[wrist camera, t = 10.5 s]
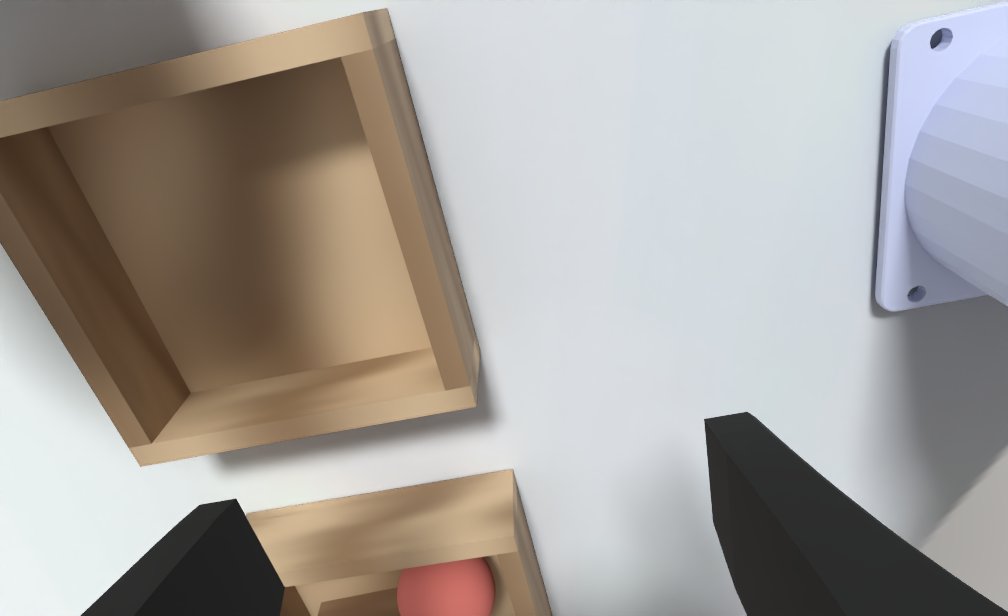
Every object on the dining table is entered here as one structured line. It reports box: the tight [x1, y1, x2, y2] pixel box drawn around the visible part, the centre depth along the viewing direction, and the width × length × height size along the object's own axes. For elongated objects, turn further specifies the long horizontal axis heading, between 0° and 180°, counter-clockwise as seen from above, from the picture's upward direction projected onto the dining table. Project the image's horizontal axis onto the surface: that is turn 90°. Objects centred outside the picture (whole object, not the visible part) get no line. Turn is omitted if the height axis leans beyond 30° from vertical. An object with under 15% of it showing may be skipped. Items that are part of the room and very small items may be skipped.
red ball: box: [397, 557, 495, 616], centre depth 22 cm, size 3×3×3 cm
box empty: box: [0, 8, 480, 467], centre depth 17 cm, size 10×10×3 cm
